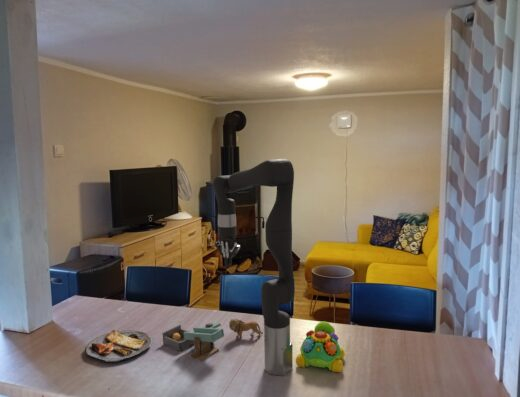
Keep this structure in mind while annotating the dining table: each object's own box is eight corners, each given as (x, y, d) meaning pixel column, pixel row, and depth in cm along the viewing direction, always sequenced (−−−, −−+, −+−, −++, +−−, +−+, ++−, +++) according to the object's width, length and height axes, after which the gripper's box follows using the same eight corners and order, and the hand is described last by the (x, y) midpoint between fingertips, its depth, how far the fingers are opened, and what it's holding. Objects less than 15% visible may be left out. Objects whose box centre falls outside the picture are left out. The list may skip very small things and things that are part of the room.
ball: (182, 334, 169) (177, 330, 171) (176, 337, 167) (171, 333, 168) (181, 340, 170) (176, 336, 172) (175, 344, 168) (170, 339, 170)
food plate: (73, 354, 161) (72, 345, 160) (119, 330, 181) (118, 322, 181) (119, 371, 149) (119, 362, 149) (163, 344, 170) (162, 336, 169)
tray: (197, 342, 169) (196, 331, 168) (180, 351, 162) (179, 339, 161) (180, 335, 175) (179, 324, 174) (163, 344, 168) (162, 332, 167)
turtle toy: (346, 347, 164) (346, 319, 162) (341, 379, 141) (342, 347, 140) (304, 342, 168) (304, 314, 167) (293, 372, 146) (293, 341, 144)
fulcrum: (219, 350, 162) (218, 331, 161) (200, 361, 154) (200, 341, 153) (208, 346, 166) (207, 327, 165) (189, 356, 158) (188, 336, 157)
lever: (241, 326, 164) (239, 319, 164) (213, 342, 152) (211, 334, 152) (212, 325, 174) (211, 318, 174) (183, 339, 162) (182, 332, 162)
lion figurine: (231, 343, 168) (230, 322, 167) (227, 337, 173) (227, 317, 172) (264, 337, 173) (264, 316, 172) (260, 331, 178) (260, 311, 177)
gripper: (245, 224, 166) (246, 266, 168) (221, 221, 173) (222, 261, 176) (233, 228, 160) (234, 271, 162) (208, 224, 168) (210, 265, 170)
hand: (228, 266), depth 169 cm, fingers closed
